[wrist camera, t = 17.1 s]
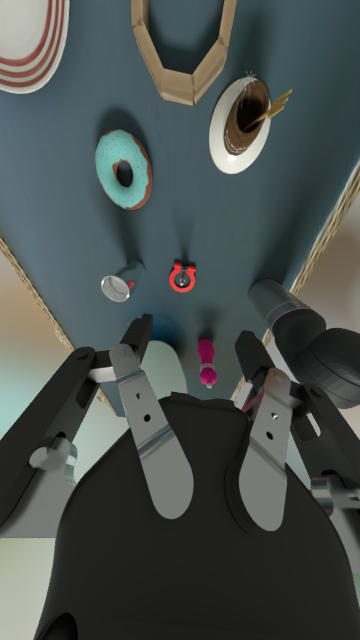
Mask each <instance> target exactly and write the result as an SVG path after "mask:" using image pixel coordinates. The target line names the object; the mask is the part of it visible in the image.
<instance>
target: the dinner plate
mask: <svg viewBox="0 0 360 640" xmlns="http://www.w3.org/2000/svg"><path fill="white" fill-rule="evenodd" d="M69 1H70V0H0V89H1V90H4V91H8V92H11V93H18V94H23V93H30V92H34V91H36V90H38V89H40V88H41V87H42V86H44V85H45V84H46V83H47V82H48V81H49V80H50V78H51V77H52V76H53V74H54V72H55V71H56V69H57V67H58V65H59V62H60V60H61V57H62V54H63V50H64V47H65V43H66V37H67V30H68V21H69Z"/></svg>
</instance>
